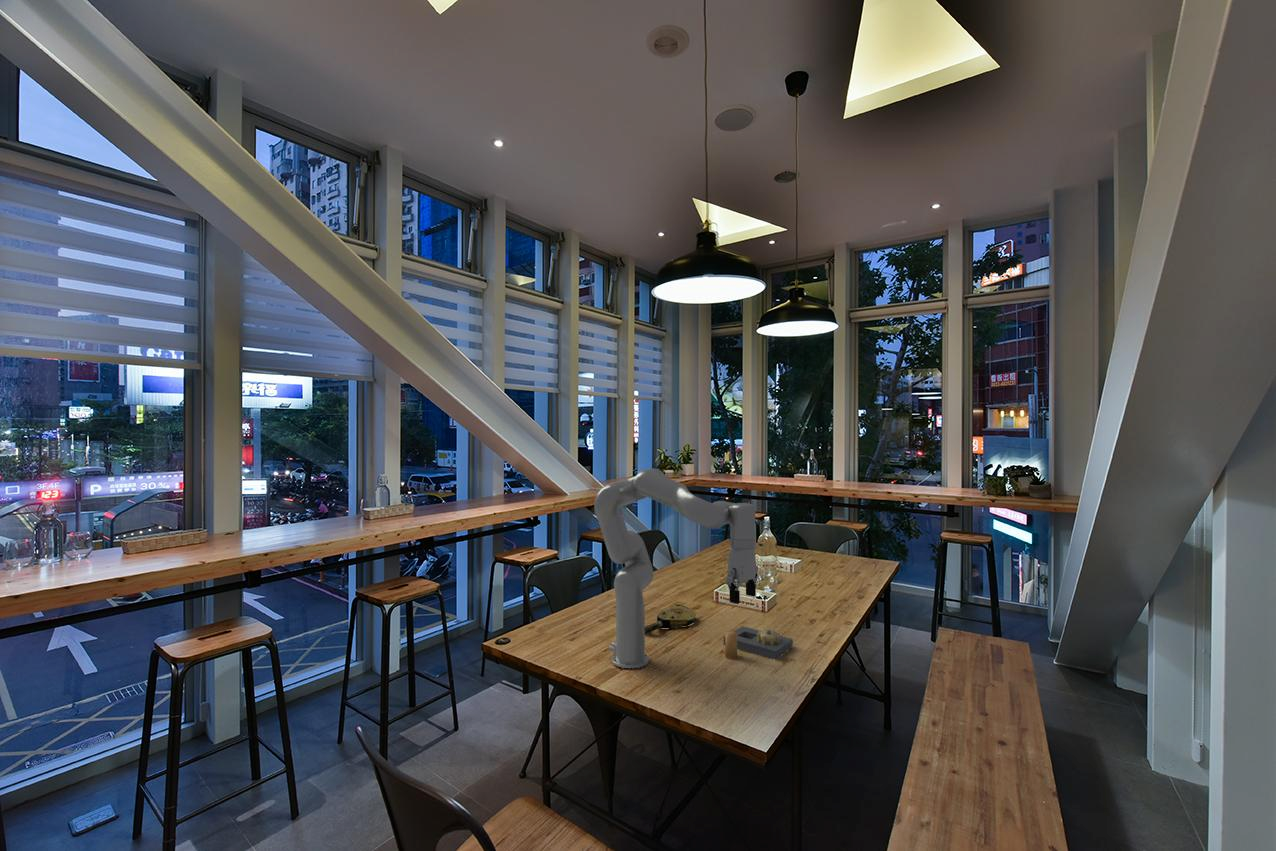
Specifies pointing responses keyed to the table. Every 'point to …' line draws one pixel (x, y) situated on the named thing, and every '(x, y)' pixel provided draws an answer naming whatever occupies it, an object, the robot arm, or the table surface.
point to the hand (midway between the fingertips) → (742, 599)
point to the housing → (762, 642)
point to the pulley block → (673, 618)
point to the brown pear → (731, 644)
